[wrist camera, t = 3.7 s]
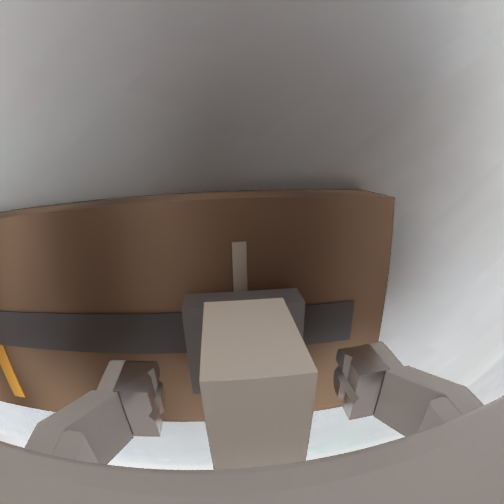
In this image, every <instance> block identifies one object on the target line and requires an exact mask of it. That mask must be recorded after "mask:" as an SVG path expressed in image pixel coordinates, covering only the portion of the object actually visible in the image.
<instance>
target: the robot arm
mask: <svg viewBox="0 0 504 504" xmlns="http://www.w3.org/2000/svg"><path fill="white" fill-rule="evenodd" d="M336 361H337V363H338V365H339V366H338V367H337V368H336V369H335V370H334V377H333V382H334V389H335V392H336V395H337V397H338V398H340V399H342V400H343V405H342V407H343V409H344V411H345V413H346V415H347V417H348V419H349V420H351V419H357V418H362V417H367V416H371V415H374V417H376V418H377V419H379V420H380V421H382V422H383V423H385V424H386V425H388V426H390V427H391V428H393V429H394V430H396V431H398V432H399V433H401V434H402V435H404V436H405V437H404V438H401V439H397V440H394V441H390V442H387V443H384V444H380V445H377V446H373V447H369V448H365V449H361V450H357V451H353V452H348V453H344V454H339V455H334V456H330V457H324V458H319V459H314V460H308V461H302V462H295V463H288V464H281V465H273V466H264V467H253V468H241V469H223V470H160V469H144V468H132V467H122V466H112V465H107V464H108V463H109V462H110V461H111V460H112V459H113V458H114V457H115V456H116V455H117V454H118V453H119V452H120V451H121V450H122V449H123V447H124V446H125V445H126V444H127V443H128V442H129V441H130V440H131V439H132V438H133V436H160V434H161V428H162V422H163V421H162V417H161V414H162V413H163V412H164V409H165V392H164V386H163V383H162V382H161V381H160V380H159V377H160V368H159V364H158V362H157V361H130V360H127V361H126V360H111V361H110V362H109V363H108V366H107V368H106V370H105V372H104V374H103V376H102V379H101V381H100V383H99V385H98V387H97V390H91V391H90V392H88V393H87V394H85V395H83V396H82V397H80V398H78V399H77V400H75V401H74V402H72V403H70V404H69V405H67V406H65V407H64V408H62V409H60V410H59V411H57V412H56V413H54V414H52V415H51V416H49V417H47V418H46V419H44V420H42V421H41V422H39V423H37V425H36V427H35V429H34V431H33V433H32V435H31V437H30V438H29V440H28V442H27V444H26V446H25V448H22V447H18V446H15V445H11V444H8V443H5V442H2V441H0V504H504V396H502V397H500V398H498V399H496V400H494V401H492V402H490V403H488V404H486V405H483V404H482V403H481V401H480V400H479V399H478V398H477V397H476V396H475V395H474V394H473V393H472V392H471V391H470V390H469V389H468V388H467V387H466V386H463V385H460V384H457V383H454V382H451V381H448V380H446V379H443V378H440V377H437V376H435V375H432V374H429V373H426V372H424V371H421V370H418V369H415V368H413V367H410V366H403V365H402V363H401V362H400V361H399V360H398V359H397V358H396V357H395V355H394V354H393V353H392V352H391V351H390V350H389V348H388V347H387V346H386V345H385V344H384V343H383V342H381V341H379V342H374V343H369V344H365V345H360V346H354V347H348V348H341V349H338V351H337V354H336Z"/></svg>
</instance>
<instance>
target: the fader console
mask: <svg viewBox="0 0 504 504" xmlns="http://www.w3.org/2000/svg"><path fill="white" fill-rule="evenodd" d="M394 200H395V198H394V197H390V196H386V195H382V194H377V193H373V192H369V191H365V190H333V189H295V190H245V191H217V192H196V193H179V194H163V195H149V196H136V197H124V198H112V199H102V200H92V201H82V202H73V203H64V204H56V205H48V206H40V207H33V208H25V209H18V210H11V211H5V212H0V401H3V402H7V403H12V404H16V405H21V406H26V407H31V408H36V409H41V410H47V411H53V412H57V411H59V410H60V409H62V408H64V407H65V406H67V405H69V404H70V403H72V402H74V401H75V400H77V399H78V398H80V397H82V396H83V395H85V394H87V393H88V392H90V391H91V390H97V387H98V385H99V383H100V381H101V379H102V376H103V374H104V372H105V370H106V368H107V366H108V363H109V362H110V361H111V360H126V361H127V360H130V361H157V362H158V364H159V368H160V377H159V380H160V381H161V382H162V383H163V386H164V392H165V409H164V412H163V413H162V414H161V417H162V421H171V422H189V421H205V416H204V410H203V404H202V397H201V394H193V389H192V383H191V376H190V370H189V363H188V356H187V349H186V342H185V334H184V327H183V319H182V310H181V308H182V303H183V299H184V294H195V293H217V292H237V291H255V290H271V289H286V288H297V289H298V291H299V292H300V294H301V296H302V297H303V299H304V300H305V315H304V332H303V341H304V343H305V345H306V347H307V349H308V351H309V354H310V356H311V358H312V360H313V362H314V364H315V366H316V368H317V370H318V378H317V386H316V394H315V402H314V409H313V411H318V410H325V409H330V408H336V407H341V406H342V405H343V400H342V399H340V398H338V397H337V395H336V392H335V389H334V382H333V377H334V370H335V369H336V368H337V367H338V366H339V365H338V363H337V361H336V354H337V351H338V349H341V348H348V347H354V346H360V345H365V344H369V343H374V342H378V339H379V333H380V328H381V322H382V316H383V309H384V303H385V296H386V289H387V281H388V273H389V264H390V254H391V244H392V232H393V218H394Z"/></svg>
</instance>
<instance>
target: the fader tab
mask: <svg viewBox="0 0 504 504" xmlns="http://www.w3.org/2000/svg"><path fill="white" fill-rule="evenodd" d="M181 310H182V319H183V327H184V334H185V342H186V349H187V356H188V363H189V370H190V376H191V383H192V389H193V394H201V397H202V404H203V410H204V416H205V423H206V429H207V435H208V440H209V446H210V452H211V457H212V462H213V468H214V470H223V469H241V468H253V467H264V466H273V465H281V464H288V463H295V462H302V461H306V455H307V449H308V443H309V437H310V430H311V423H312V417H313V409H314V402H315V394H316V386H317V378H318V370H317V368H316V366H315V364H314V362H313V360H312V358H311V356H310V354H309V351H308V349H307V347H306V345H305V343H304V341H303V332H304V315H305V300H304V299H303V297H302V296H301V294H300V292H299V291H298V289H297V288H286V289H271V290H255V291H237V292H217V293H195V294H184V299H183V303H182V308H181Z"/></svg>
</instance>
